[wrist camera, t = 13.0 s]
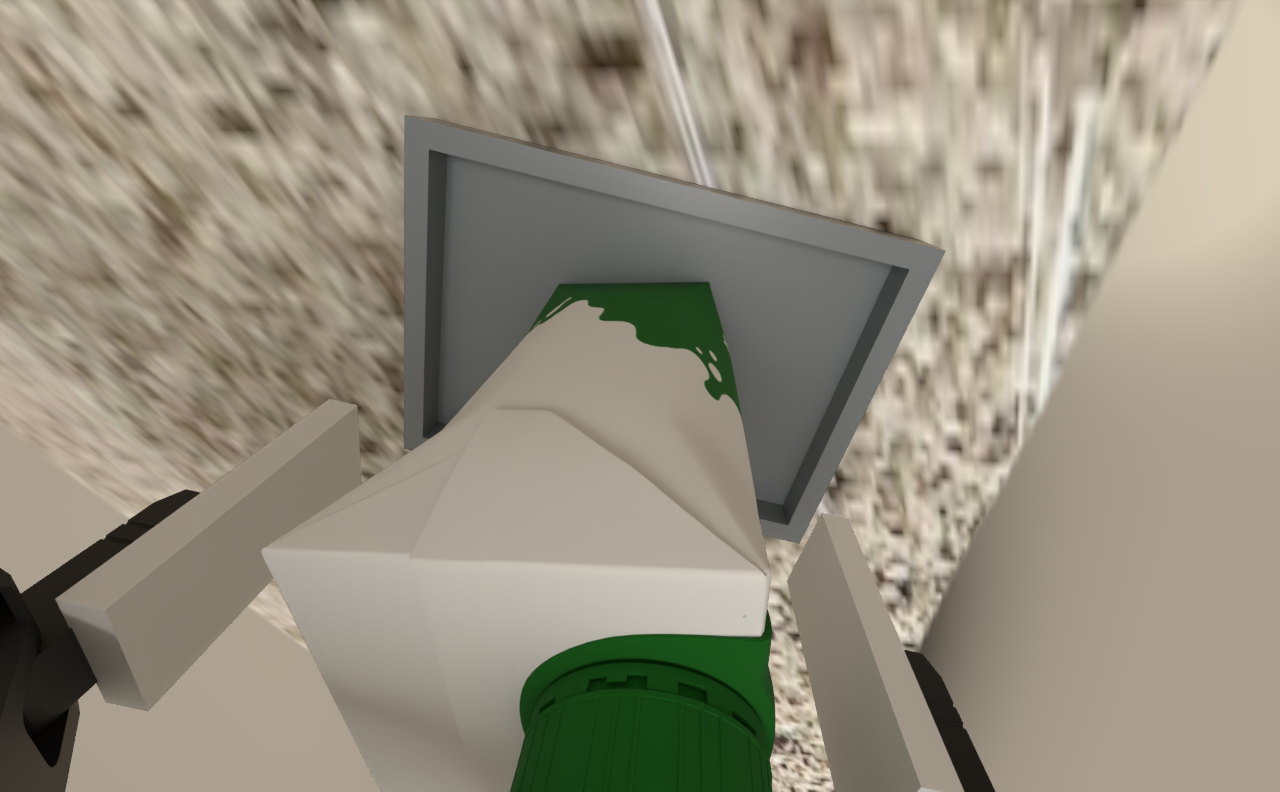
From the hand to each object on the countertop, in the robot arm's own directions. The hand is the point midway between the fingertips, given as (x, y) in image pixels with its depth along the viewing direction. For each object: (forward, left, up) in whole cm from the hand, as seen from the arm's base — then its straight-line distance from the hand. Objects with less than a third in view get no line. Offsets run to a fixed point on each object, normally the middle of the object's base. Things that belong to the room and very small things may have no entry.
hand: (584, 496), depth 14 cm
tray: (0, 0, -13) cm, 13 cm away
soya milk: (0, 0, -12) cm, 12 cm away
